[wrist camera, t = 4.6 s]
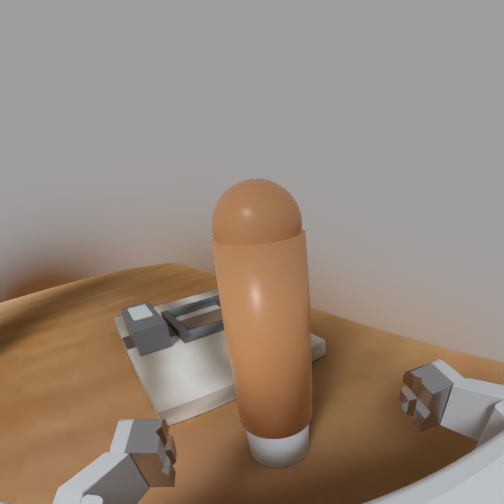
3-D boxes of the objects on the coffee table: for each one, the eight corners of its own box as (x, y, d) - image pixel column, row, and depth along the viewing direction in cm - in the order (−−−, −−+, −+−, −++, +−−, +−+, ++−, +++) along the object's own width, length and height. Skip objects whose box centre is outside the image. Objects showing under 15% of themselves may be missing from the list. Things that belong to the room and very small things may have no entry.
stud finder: (140, 355, 26) (133, 331, 25) (126, 328, 32) (120, 307, 31) (172, 345, 27) (166, 321, 27) (152, 320, 33) (147, 300, 33)
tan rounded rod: (271, 481, 14) (232, 181, 10) (235, 443, 17) (189, 186, 13) (325, 447, 16) (319, 173, 12) (285, 417, 19) (264, 178, 15)
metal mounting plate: (163, 427, 19) (154, 404, 18) (116, 328, 35) (112, 312, 35) (325, 354, 26) (325, 332, 26) (221, 298, 43) (219, 282, 42)
